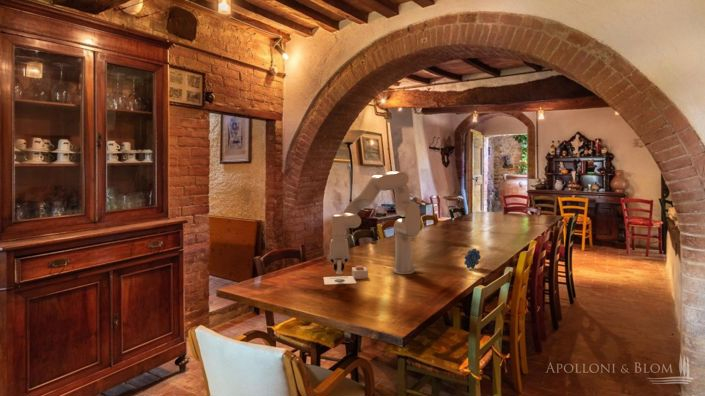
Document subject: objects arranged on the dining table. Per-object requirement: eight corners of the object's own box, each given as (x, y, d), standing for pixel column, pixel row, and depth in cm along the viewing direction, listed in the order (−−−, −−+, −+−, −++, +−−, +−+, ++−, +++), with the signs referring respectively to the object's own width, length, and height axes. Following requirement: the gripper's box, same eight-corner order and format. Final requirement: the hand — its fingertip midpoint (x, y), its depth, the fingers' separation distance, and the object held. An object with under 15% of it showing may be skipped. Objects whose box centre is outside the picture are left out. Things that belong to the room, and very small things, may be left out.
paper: (353, 276, 235) (353, 275, 235) (356, 283, 221) (356, 282, 221) (323, 277, 233) (323, 276, 233) (324, 284, 219) (324, 284, 219)
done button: (362, 270, 236) (362, 265, 235) (363, 272, 232) (363, 267, 232) (356, 270, 235) (356, 265, 235) (356, 272, 232) (356, 267, 232)
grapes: (475, 265, 257) (475, 246, 256) (482, 268, 251) (483, 248, 250) (460, 267, 253) (460, 248, 252) (467, 270, 246) (467, 250, 245)
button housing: (365, 274, 238) (365, 266, 238) (367, 278, 230) (367, 270, 230) (351, 275, 238) (351, 267, 237) (353, 278, 230) (353, 271, 229)
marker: (341, 272, 227) (341, 254, 226) (342, 274, 224) (342, 256, 223) (335, 272, 227) (335, 254, 226) (336, 274, 223) (336, 256, 223)
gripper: (353, 235, 228) (353, 268, 230) (323, 236, 226) (323, 269, 228) (354, 238, 221) (354, 272, 222) (324, 238, 219) (324, 272, 221)
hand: (339, 270), depth 225 cm, fingers closed on marker, 3 cm apart
